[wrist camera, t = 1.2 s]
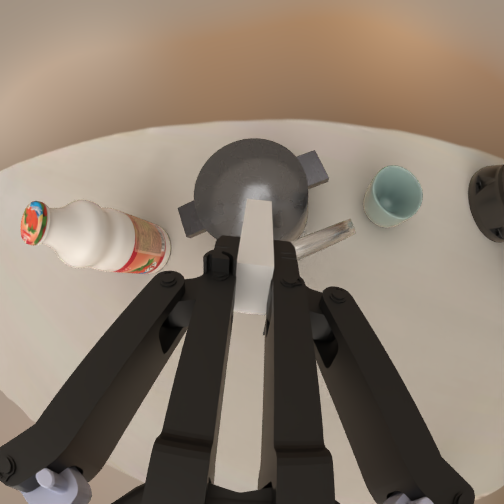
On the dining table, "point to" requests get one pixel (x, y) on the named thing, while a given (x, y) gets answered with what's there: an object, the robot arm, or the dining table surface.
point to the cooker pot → (252, 189)
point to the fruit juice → (97, 237)
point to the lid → (323, 238)
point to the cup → (392, 197)
